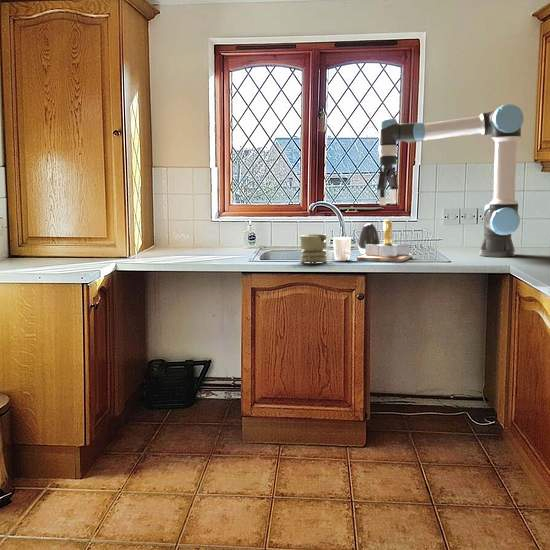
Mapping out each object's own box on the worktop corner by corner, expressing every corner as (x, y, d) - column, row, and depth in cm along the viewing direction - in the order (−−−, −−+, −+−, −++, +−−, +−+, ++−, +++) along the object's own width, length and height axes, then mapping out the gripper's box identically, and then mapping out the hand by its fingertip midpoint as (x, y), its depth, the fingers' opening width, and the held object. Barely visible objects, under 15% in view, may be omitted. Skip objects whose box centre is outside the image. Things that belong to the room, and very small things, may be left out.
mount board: (411, 257, 290) (411, 254, 289) (400, 262, 275) (400, 258, 275) (369, 256, 299) (369, 253, 299) (356, 260, 285) (356, 257, 285)
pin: (393, 255, 286) (393, 219, 283) (390, 256, 283) (390, 220, 280) (385, 255, 287) (385, 219, 285) (382, 256, 284) (382, 220, 282)
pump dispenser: (355, 256, 301) (355, 223, 299) (361, 253, 311) (361, 222, 309) (377, 256, 297) (377, 223, 295) (382, 254, 307) (382, 222, 305)
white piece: (409, 254, 288) (409, 243, 287) (401, 257, 278) (401, 246, 277) (371, 253, 296) (371, 242, 296) (362, 256, 286) (362, 245, 285)
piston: (295, 235, 280) (310, 233, 289) (296, 263, 282) (310, 260, 291) (316, 236, 273) (331, 234, 282) (317, 264, 275) (331, 261, 284)
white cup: (339, 261, 283) (339, 239, 282) (330, 259, 290) (329, 237, 288) (354, 260, 287) (354, 237, 285) (344, 258, 293) (344, 236, 292)
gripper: (388, 156, 291) (388, 203, 294) (369, 155, 270) (370, 205, 273) (404, 155, 288) (404, 203, 291) (386, 154, 266) (387, 205, 269)
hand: (388, 204), depth 282 cm, fingers open, 13 cm apart
